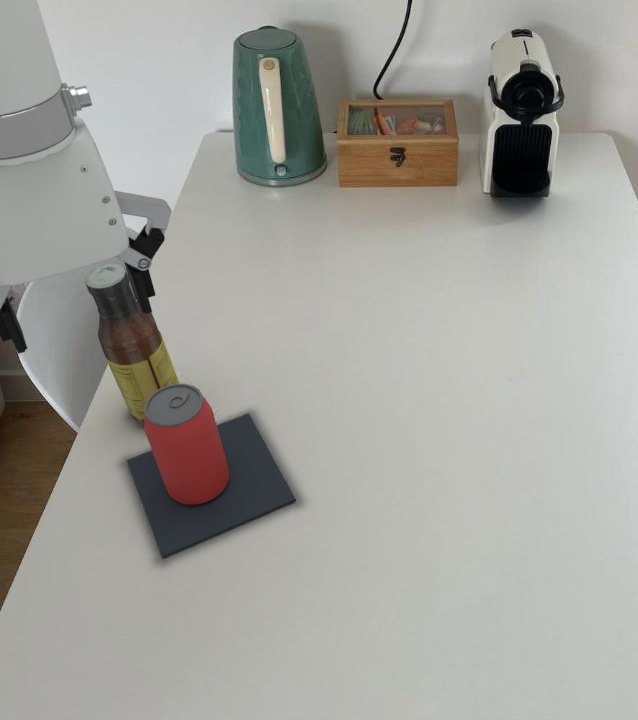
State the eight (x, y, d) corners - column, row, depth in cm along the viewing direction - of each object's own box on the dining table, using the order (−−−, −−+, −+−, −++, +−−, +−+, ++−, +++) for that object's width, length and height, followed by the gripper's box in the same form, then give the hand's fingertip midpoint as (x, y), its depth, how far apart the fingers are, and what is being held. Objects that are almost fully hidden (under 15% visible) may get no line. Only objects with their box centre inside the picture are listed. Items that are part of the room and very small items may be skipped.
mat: (163, 558, 79) (162, 556, 79) (127, 462, 88) (126, 459, 88) (296, 501, 83) (295, 498, 83) (249, 415, 93) (248, 413, 92)
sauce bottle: (170, 383, 97) (126, 245, 83) (196, 411, 93) (154, 272, 80) (119, 409, 94) (65, 271, 81) (144, 440, 90) (91, 300, 77)
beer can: (243, 473, 86) (222, 393, 78) (202, 517, 82) (175, 438, 74) (196, 450, 88) (171, 370, 80) (154, 492, 84) (123, 413, 76)
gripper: (128, 73, 58) (176, 267, 70) (-139, 127, 52) (-39, 331, 64) (156, 112, 54) (203, 315, 65) (-134, 177, 47) (-27, 388, 59)
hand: (83, 322), depth 64 cm, fingers open, 9 cm apart
